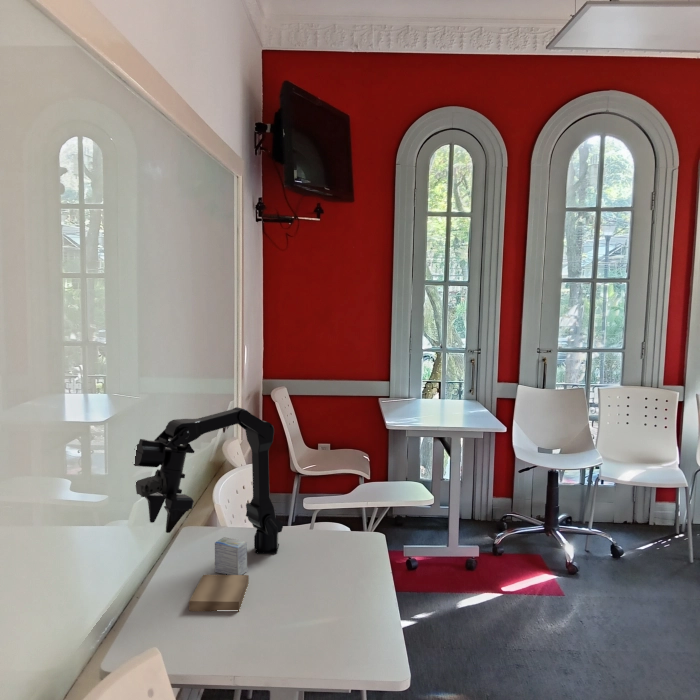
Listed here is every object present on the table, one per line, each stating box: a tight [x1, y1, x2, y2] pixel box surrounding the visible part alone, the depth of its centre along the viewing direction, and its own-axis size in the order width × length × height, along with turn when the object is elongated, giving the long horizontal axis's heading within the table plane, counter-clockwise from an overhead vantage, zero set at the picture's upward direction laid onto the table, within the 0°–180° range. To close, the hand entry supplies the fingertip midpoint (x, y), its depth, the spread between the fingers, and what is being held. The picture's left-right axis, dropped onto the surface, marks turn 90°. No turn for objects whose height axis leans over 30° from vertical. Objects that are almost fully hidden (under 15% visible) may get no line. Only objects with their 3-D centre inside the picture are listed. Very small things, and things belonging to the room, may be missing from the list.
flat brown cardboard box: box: [188, 574, 250, 612], centre depth 152 cm, size 12×14×3 cm
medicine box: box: [214, 536, 248, 575], centre depth 166 cm, size 8×4×9 cm, turn 65°
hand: (159, 527), depth 158 cm, fingers open, 9 cm apart
